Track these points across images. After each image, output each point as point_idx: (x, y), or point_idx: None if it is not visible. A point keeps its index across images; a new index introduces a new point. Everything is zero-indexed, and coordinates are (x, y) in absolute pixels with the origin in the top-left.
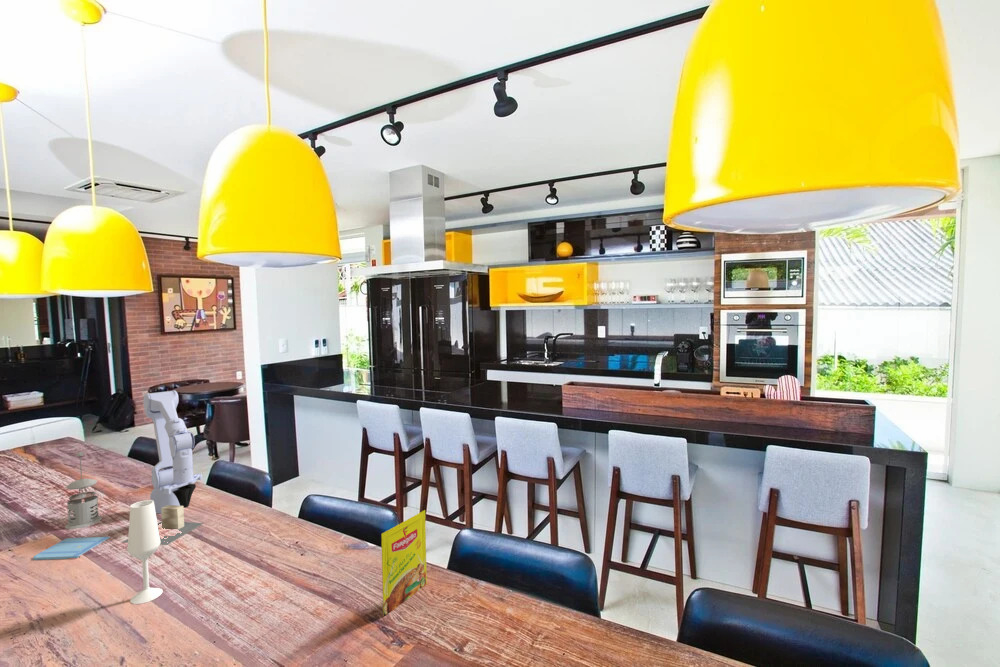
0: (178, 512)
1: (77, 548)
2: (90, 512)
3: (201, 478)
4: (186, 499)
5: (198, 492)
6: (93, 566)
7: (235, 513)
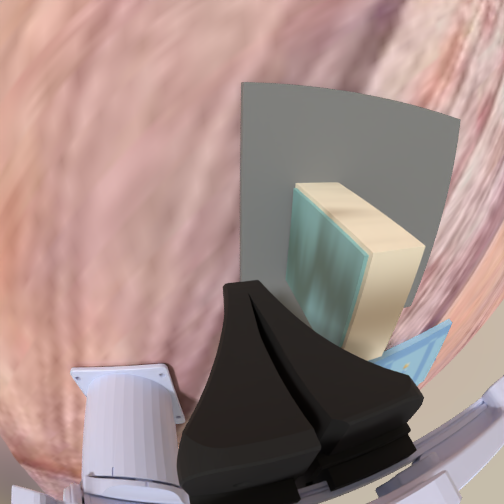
0: (397, 228)
1: (414, 360)
2: None
3: (24, 497)
4: (293, 323)
5: (4, 403)
6: (493, 246)
7: (47, 22)
